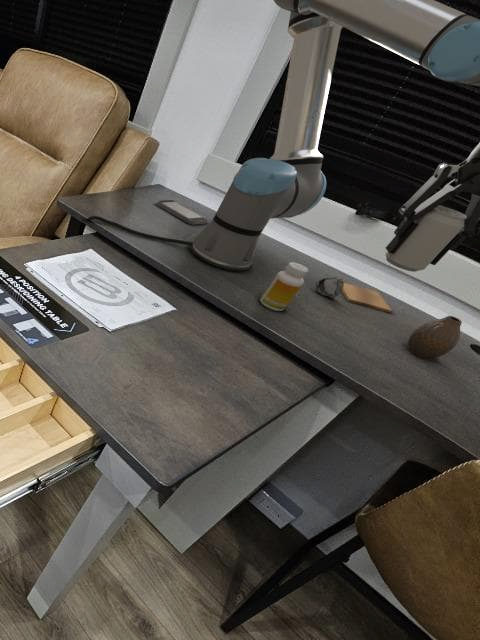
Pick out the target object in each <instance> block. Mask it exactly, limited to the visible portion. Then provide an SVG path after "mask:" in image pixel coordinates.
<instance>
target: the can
mask: <svg viewBox="0 0 480 640" xmlns="http://www.w3.org/2000/svg"><path fill="white" fill-rule="evenodd" d="M466 218H467V216H466V215H465V213H462V212H460V211H457V210H455V209H452V208H449V207H446V206H443V205H439V206H437V207H436V208H434V209H433V210H431V211H430V212H429V213H427V214H426V215H424V216H423V217H421V218H420V219H418V220H417V221H415V222H416V223H418V224H419V225H418V226H417V227H416V228H415V229H414V230H413V232H412V233H411V234H410V235H409V236H408V237H407V239H406V240H405V241H404V242H403V243H402V244H401V246H400V247H399V248H398V249H397V250H396V251H395V253H394V254H392V253H389V252H388V251H387V250H386V252H385V254H384V255H385V261H387V262H388V263H389V264H391V265H392V266H394V267H396V268H398V269H401V270H404V271H408V272H413V273H415V272H419V271H423V270H426V268H427V267H428V266H429V265H431V264H430V263H431V262H432V261H433V259H434V258H435V257H436V256H437V255H438V254H439V253H440V252H441V251H442V250H443V249H444V248H445V247H446V245H447V244H448V243H449V242H450V241H451V240H452V239H453V238H454V237H455V236H456V235H457V234H458V233H459V232H460V230H461V229H462V228H463V227H464V219H466Z"/></svg>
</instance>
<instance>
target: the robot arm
mask: <svg viewBox="0 0 480 640" xmlns="http://www.w3.org/2000/svg"><path fill="white" fill-rule="evenodd" d="M273 2H274V3H275V5H277V7H279V8H280V9H283V10H285V11H288V12H290V15H289V20H288V27H287V34H289V36H291V37H292V38H293V42H292V47H291V54H290V59H289V64H288V65H289V66H288V72H287V78H286V83H285V88H284V89H285V90H284V95H283V101H282V107H281V113H280V119H279V124H278V131H277V136H276V140H275V147H274V153H273V154H272V155H271V156H270V157H269V158H266V157H265V158H264V157H255V158H250V159H248V160H246V161H245V162H244V163H242V165H241V166H240V167H239V170H238V171H237V172H236V173H235V174H234V177H233V179H232V182H231V183H230V186H229V188H228V190H227V191H226V193H225V194H224V197H223V199H222V201H221V203H220V205H219V206H218V209H217V210H216V212H215V214H214V216H213V218H212V220H211V221H210V222H209V223H208V224H207V225H206V226H205V227H204V228H203V230H201V231H200V233H199V234H198V235H197V236H196V237H195V238H194V239H193V241H189V240H182V239H177V238H176V239H175V238H169V237H163V236H159V235H153V234H148V233H144V232H141V231H138V230H135V229H131V228H129V227H128V226H124V225H122V224H120V223H118V222H115V221H112V220H109V219H106V218H104V217H102V216H98V215H91V216H89V217H86V218H85V219H84V221H85V222H90V221H92V220H93V221H94V220H97V221H100V222H102V223H104V224H106V225H110V226H113V227H115V228H117V229H120V230H122V231H125V232H127V233H129V234H132V235H135V236H139V237H143V238H146V239H151V240H155V241H160V242H166V243H171V244H178V245H184V246H190V247H189V250H190V252H191V253H192V254H193V255H194V256H195V257H196V258H197V259H199V260H201V261H202V262H204V263H206V264H208V265H210V266H213V267H216V268H217V269H222V270H224V271H229V272H245V271H247V270H248V269H249V268H250V267H251V265H252V264H253V261H254V258H255V253H256V249H257V245H258V241H259V238H260V236H261V235H262V233H263V231H264V229H265V228H266V227H267V225H268V223H269V222H270V220H271V219H280V218H281V219H287V218H288V219H291V218H293V217H297V216H301V215H303V214H306V213H307V212H310V211H311V210H312V209H313V208H315V207H316V206H317V205H318V204H319V203H320V201H321V200H322V199H323V197H324V194H325V192H326V189H327V179H326V176H325V174H324V173H323V171H322V170H321V169H322V166H323V160H324V155H323V154H322V153H320V151H319V150H318V147H319V141H320V137H321V131H322V126H323V121H324V115H325V111H326V106H327V101H328V97H329V96H328V95H329V91H330V87H331V82H332V76H333V71H334V70H333V69H334V65H335V61H336V56H337V50H338V45H339V41H340V37H341V36H340V35H341V31H342V29H343V28H345V29H347V30H349V31H351V32H352V33H355V34H357V35H359V36H361V37H363V38H364V39H367V40H369V41H370V42H372V43H374V44H377V45H379V46H381V47H383V48H384V49H386V50H389V51H391V52H393V53H395V54H397V55H399V56H400V57H403V58H404V59H407V60H409V61H411V62H413V63H414V64H417V65H419V66H421V67H422V68H424V69H426V70H428V71H429V72H430V73H431V75H433V76H434V77H436V79H439V80H441V81H444V82H448V83H461V84H465V85H471V86H475V87H476V86H477V87H480V19H479V18H477V17H474V16H471V15H469V14H467V13H465V12H463V11H460V10H458V9H455V8H453V7H451V6H448V5H446V4H444V3H442V2H439V1H437V0H273ZM453 174H454V179H453V180H450V182H448V183H446V184H445V185H444V186H443V188H441V189H440V190H439V191H437V192H436V193H435V194H433V193H434V192H435V191H436V190H437V189H438V188H439V187H440V186H441V185H442V184H443V183H444V182H445V181H446V180H447V178H451V177H452V175H453ZM461 192H462V193H470V194H471V199H470V201H469V203H468V206H467V208H466V211H465V213H464V215H466V216H467V218H466V219H464V227H463V228H462V229H461V230H460V232H459V233H458V234H457V235H456V236H455V237H454V238H453V239H452V240H451V241H450V242H449V243H448V244H447V245H446V247H445V248H444V249H443V250H442V251H441V252H440V253H439V254H438V255H437V256H436V257H435V258H434V259H433V261H432V262H431V263H430V264H429V265H432V266H436V265H437V264H438V263H439V262H440V261H441V259H443V258H444V256H446V254H447V253H448V252H449V251H455V250H456V249H457V248H458V247H459V246H460V245H461V244H462V243H463V242H464V240H466V239H467V238H472V237H473V236H478V237H480V142H479V143H478V144H477V145H476V146H475V147H474V149H472V151H471V152H470V154H469V156H468V157H467V158H466V159H465V160H464V161H462V162H461V163H459V164H448V163H446V162H442V163H440V164H438V166H437V167H436V169H435V171H434V172H433V174H432V176H431V177H430V178H429V179H428V180H427V181H426V182H425V183H424V184H423V185H422V186H420V188H419V189H418V190H417V191H416V192H415V193H413V195H412V196H410V198H409V199H408V200H407V201H406V202H405V203H403V205H402V206H401V207H400V208H399V209H398V212H399V213H400V215H402V216H403V217H404V218H403V220H402V221H401V222H400V223H399V225H398V226H397V227H396V228H395V229H394V231H393V234H394V235H395V236H394V237H393V238H392V239H391V241H389V243H388V244H387V245H386V247H385V250H386V252H387V251H388V252H389V253H392V254H394V253H395V251H396V250H397V249H398V248H399V247H400V246H401V244H402V243H403V242H404V241H405V240H406V239H407V237H408V236H409V235H410V234H411V233H412V232H413V230H414V229H415V228H416V227H417V226H418V225H419V224H418V223H416V222H415V221H417V220H418V219H420V218H421V217H423V216H424V215H426V214H427V213H429V212H430V211H431V210H433V209H434V208H436V207H437V206H441V205H442V204H443V203H445V202H446V201H448V200H449V199H451V198H452V197H454V196H457V195H459V194H461ZM432 194H433V195H432Z"/></svg>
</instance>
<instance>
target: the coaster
mask: <svg viewBox="0 0 480 640" xmlns="http://www.w3.org/2000/svg"><path fill="white" fill-rule="evenodd" d="M341 292H342V294H343V296H344V297H345V299H346V300H347V302H350V303H355V304H358V305H361V306H365V307H369V308H372V309H375V310H379V311H382V312H386V313H393V309H392V308H391V307H390V305H389V304H388V303H387V301H386V300H385V299H384V297H382V295H381V294H380V292H379V291H376V290H372V289H368V288H365V287H361V286H358V285H354V284H350V283H347V282H344V286H343V289H342V291H341Z"/></svg>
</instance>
